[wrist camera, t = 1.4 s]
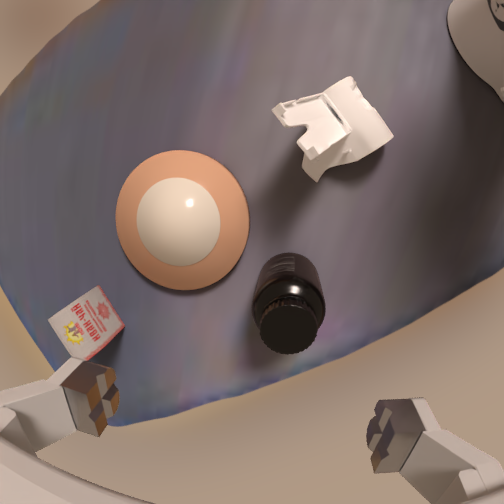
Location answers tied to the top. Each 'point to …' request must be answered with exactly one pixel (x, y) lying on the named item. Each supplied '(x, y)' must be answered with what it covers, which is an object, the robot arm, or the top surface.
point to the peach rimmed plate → (182, 219)
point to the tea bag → (87, 324)
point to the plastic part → (334, 127)
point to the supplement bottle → (288, 303)
